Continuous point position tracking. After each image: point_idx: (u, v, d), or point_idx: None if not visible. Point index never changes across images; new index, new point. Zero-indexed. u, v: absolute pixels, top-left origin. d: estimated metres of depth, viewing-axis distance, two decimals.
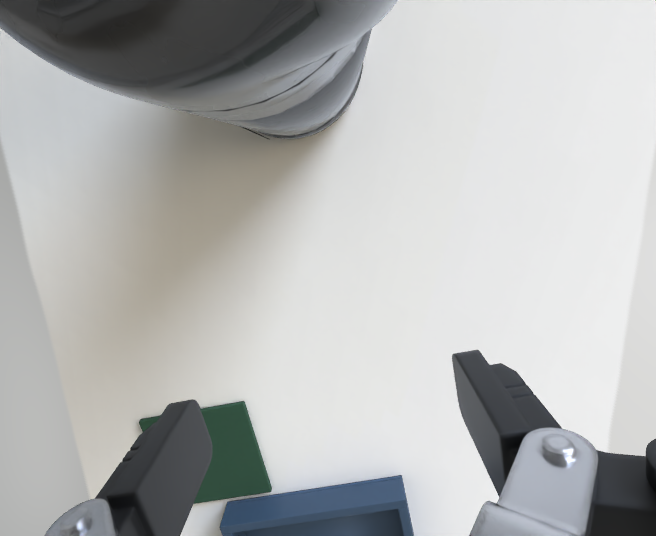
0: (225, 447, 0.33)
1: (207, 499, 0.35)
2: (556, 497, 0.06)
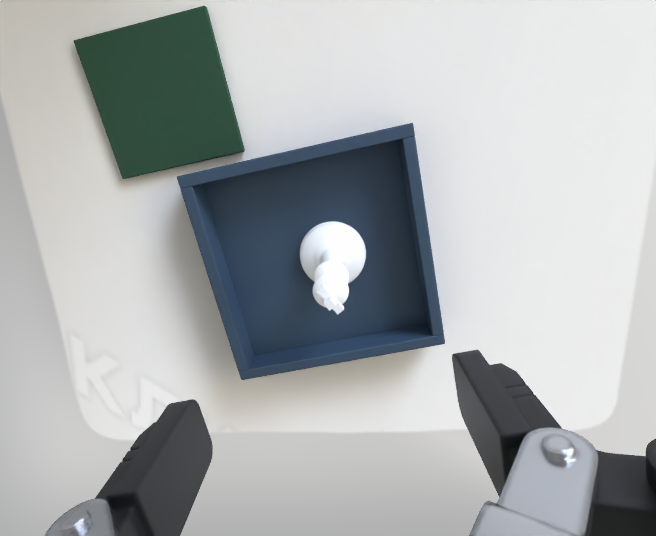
0: (184, 80, 0.26)
1: (164, 165, 0.28)
2: (556, 497, 0.06)
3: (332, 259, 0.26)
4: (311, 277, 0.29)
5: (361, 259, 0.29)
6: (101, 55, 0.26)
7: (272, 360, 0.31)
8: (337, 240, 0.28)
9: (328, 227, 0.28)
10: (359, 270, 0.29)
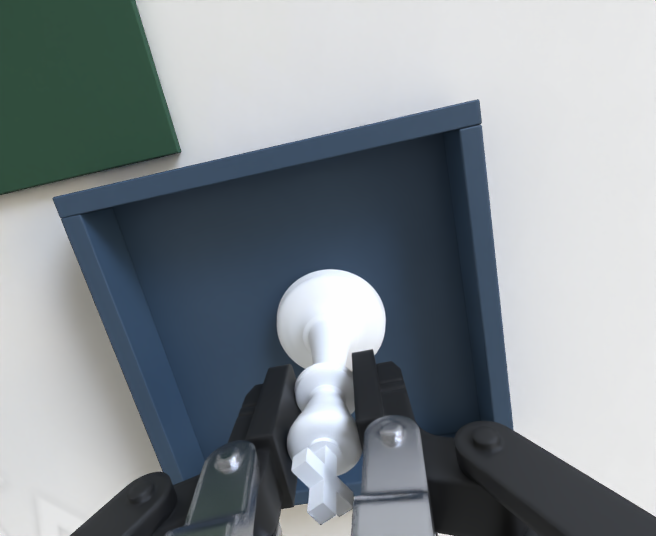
0: (69, 27, 0.15)
1: (45, 176, 0.16)
2: (401, 470, 0.07)
3: (329, 346, 0.14)
4: (295, 360, 0.18)
5: (378, 333, 0.17)
6: None
7: None
8: (338, 303, 0.17)
9: (323, 281, 0.17)
10: (375, 350, 0.17)
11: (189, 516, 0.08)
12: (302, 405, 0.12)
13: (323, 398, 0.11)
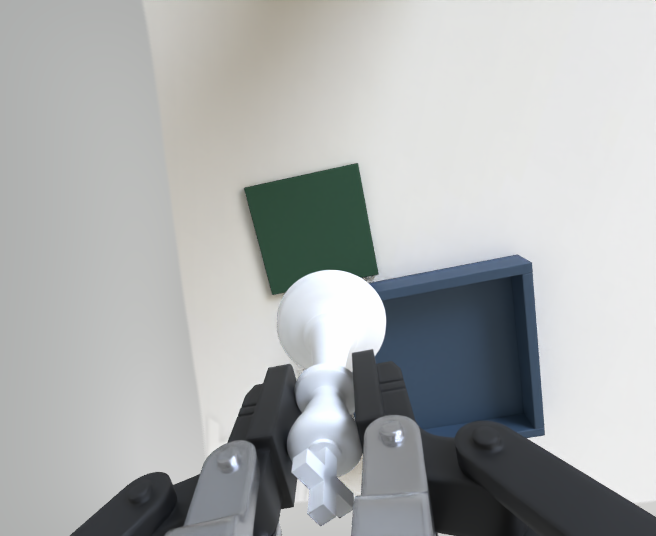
0: (334, 219, 0.31)
1: None
2: (401, 470, 0.07)
3: (330, 347, 0.14)
4: (296, 361, 0.18)
5: (379, 333, 0.17)
6: (266, 199, 0.31)
7: None
8: (339, 304, 0.17)
9: (323, 281, 0.17)
10: (375, 350, 0.17)
11: (188, 516, 0.08)
12: (302, 406, 0.12)
13: (323, 399, 0.11)
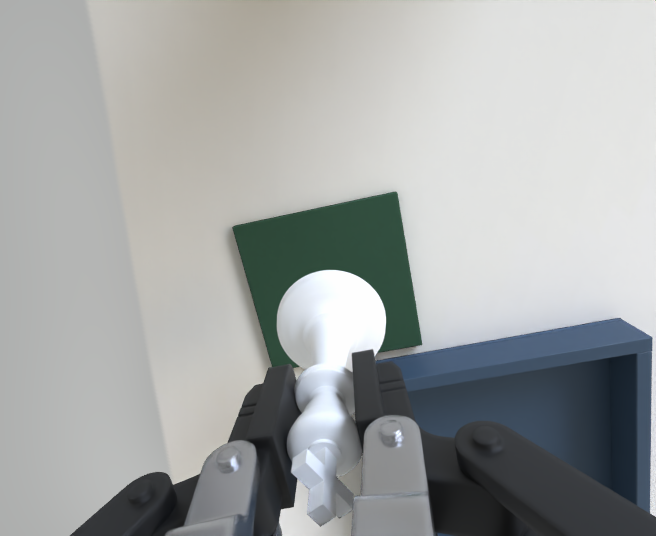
0: (361, 270, 0.22)
1: None
2: (401, 470, 0.07)
3: (329, 347, 0.14)
4: (296, 361, 0.18)
5: (379, 333, 0.17)
6: (264, 243, 0.22)
7: None
8: (338, 304, 0.17)
9: (323, 282, 0.17)
10: (375, 350, 0.17)
11: (188, 516, 0.08)
12: (302, 406, 0.12)
13: (323, 399, 0.11)
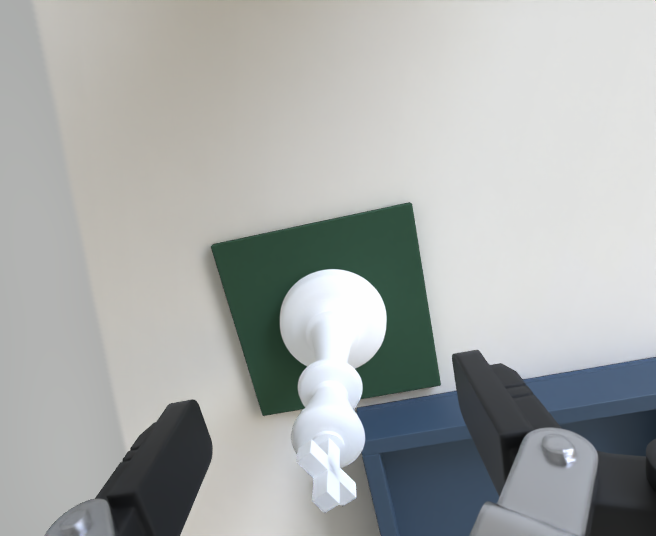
0: None
1: None
2: (556, 497, 0.06)
3: (332, 344, 0.15)
4: (298, 358, 0.18)
5: (379, 331, 0.18)
6: (249, 265, 0.18)
7: None
8: (340, 302, 0.17)
9: (325, 280, 0.17)
10: (376, 348, 0.18)
11: None
12: (306, 400, 0.13)
13: (326, 393, 0.12)
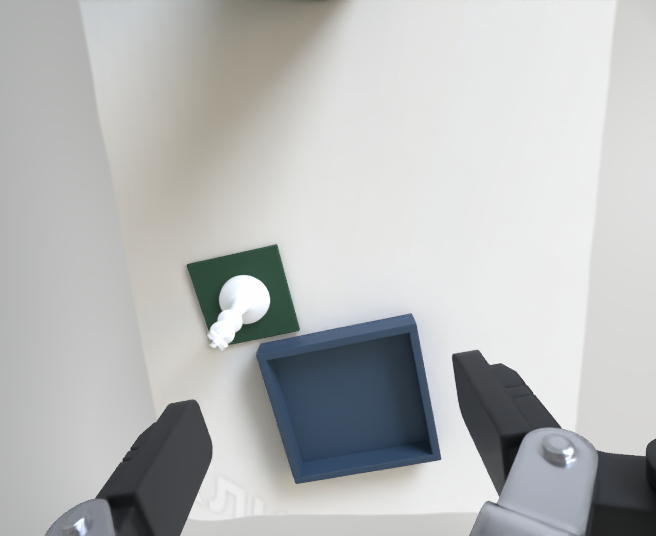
0: None
1: (244, 339, 0.40)
2: (556, 497, 0.06)
3: (235, 306, 0.35)
4: None
5: (264, 303, 0.38)
6: (205, 273, 0.38)
7: (317, 469, 0.43)
8: (244, 290, 0.38)
9: (238, 280, 0.38)
10: (264, 311, 0.38)
11: None
12: None
13: (223, 320, 0.32)
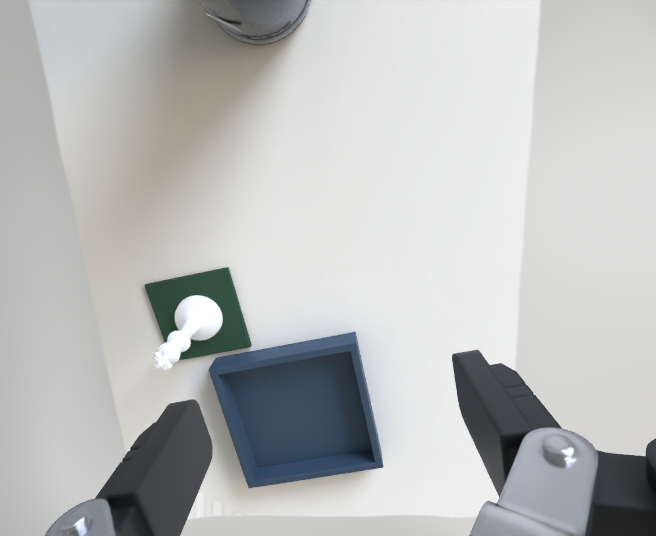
0: None
1: (199, 354, 0.43)
2: (556, 497, 0.06)
3: (186, 326, 0.38)
4: None
5: (216, 322, 0.41)
6: (161, 293, 0.41)
7: (269, 474, 0.46)
8: (197, 309, 0.40)
9: (191, 300, 0.40)
10: (216, 329, 0.41)
11: None
12: None
13: (171, 341, 0.35)
